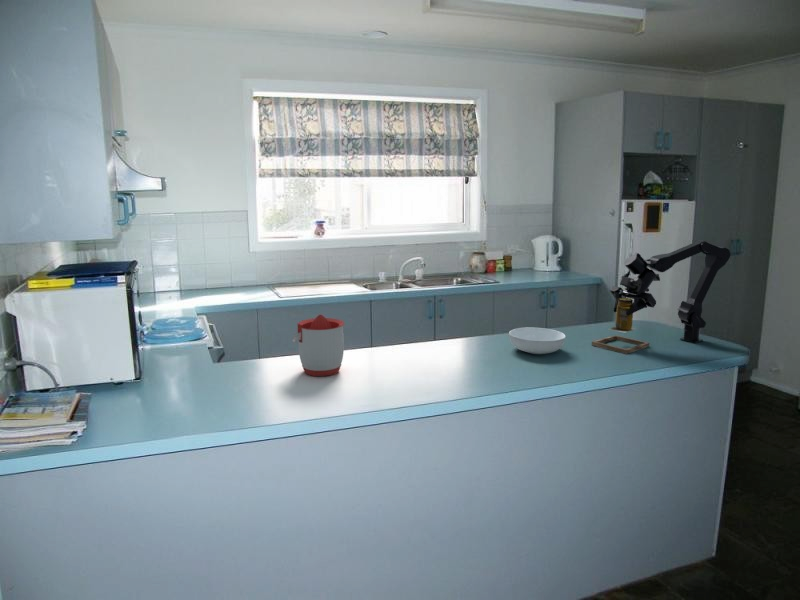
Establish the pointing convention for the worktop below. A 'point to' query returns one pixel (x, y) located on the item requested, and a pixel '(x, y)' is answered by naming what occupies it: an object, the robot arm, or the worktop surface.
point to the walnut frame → (600, 344)
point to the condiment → (623, 316)
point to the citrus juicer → (320, 345)
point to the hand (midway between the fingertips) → (620, 313)
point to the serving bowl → (537, 340)
